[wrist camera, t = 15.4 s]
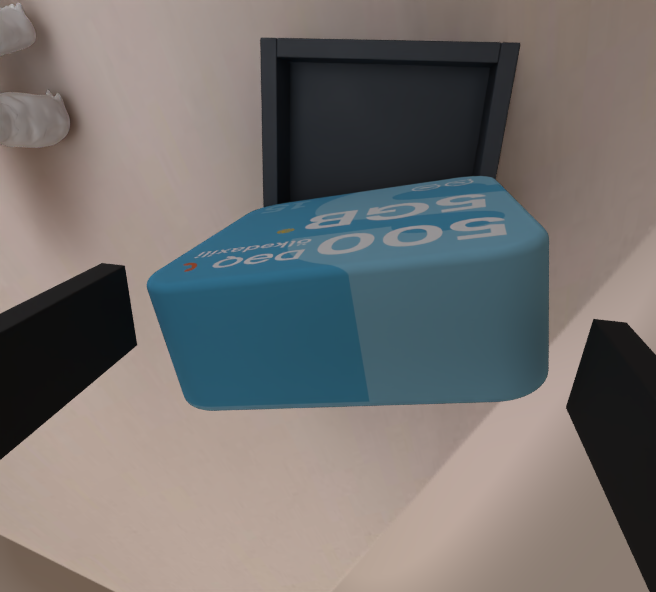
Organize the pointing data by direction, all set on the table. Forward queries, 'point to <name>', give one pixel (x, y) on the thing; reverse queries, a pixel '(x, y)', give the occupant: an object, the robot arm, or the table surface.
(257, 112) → the table surface
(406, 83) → the holder
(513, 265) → the data package
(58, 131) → the dinosaur statue
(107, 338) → the robot arm
